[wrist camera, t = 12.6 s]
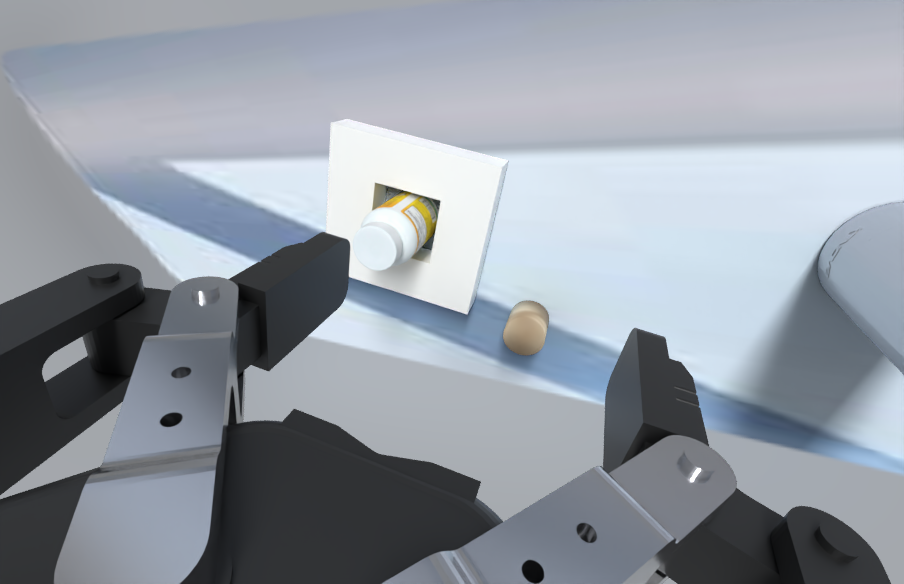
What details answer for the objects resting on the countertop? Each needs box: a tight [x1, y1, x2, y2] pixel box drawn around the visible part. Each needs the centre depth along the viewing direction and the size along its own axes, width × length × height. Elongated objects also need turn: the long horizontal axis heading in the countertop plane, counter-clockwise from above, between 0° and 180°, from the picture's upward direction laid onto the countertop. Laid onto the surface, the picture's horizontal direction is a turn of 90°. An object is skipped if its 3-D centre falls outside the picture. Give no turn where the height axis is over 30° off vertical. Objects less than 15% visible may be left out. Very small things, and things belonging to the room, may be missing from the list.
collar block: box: [326, 119, 508, 314], centre depth 45 cm, size 16×15×3 cm
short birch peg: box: [503, 301, 549, 355], centre depth 46 cm, size 4×4×4 cm
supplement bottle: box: [353, 191, 439, 271], centre depth 42 cm, size 5×5×10 cm
